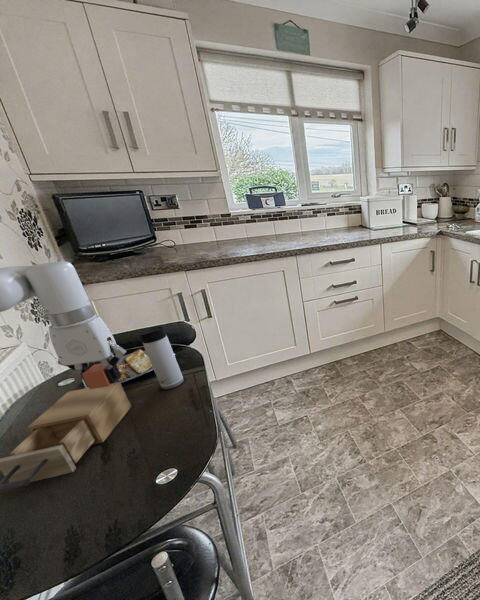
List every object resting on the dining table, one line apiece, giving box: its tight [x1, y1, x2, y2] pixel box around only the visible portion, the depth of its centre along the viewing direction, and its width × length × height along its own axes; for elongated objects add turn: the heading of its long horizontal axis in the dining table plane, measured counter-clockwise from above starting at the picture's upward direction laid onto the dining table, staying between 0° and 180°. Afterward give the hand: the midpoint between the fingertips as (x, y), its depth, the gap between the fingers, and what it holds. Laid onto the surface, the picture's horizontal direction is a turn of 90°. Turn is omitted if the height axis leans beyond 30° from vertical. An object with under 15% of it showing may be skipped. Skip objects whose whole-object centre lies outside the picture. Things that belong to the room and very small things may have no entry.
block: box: [81, 362, 111, 389], centre depth 81 cm, size 4×4×4 cm
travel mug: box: [139, 326, 185, 390], centre depth 102 cm, size 6×7×20 cm
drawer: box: [0, 418, 97, 493], centre depth 74 cm, size 20×11×7 cm, turn 15°
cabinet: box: [27, 382, 132, 446], centre depth 87 cm, size 15×13×9 cm
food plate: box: [81, 348, 154, 389], centre depth 115 cm, size 25×23×4 cm
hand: (104, 381), depth 81 cm, fingers closed on block, 4 cm apart
